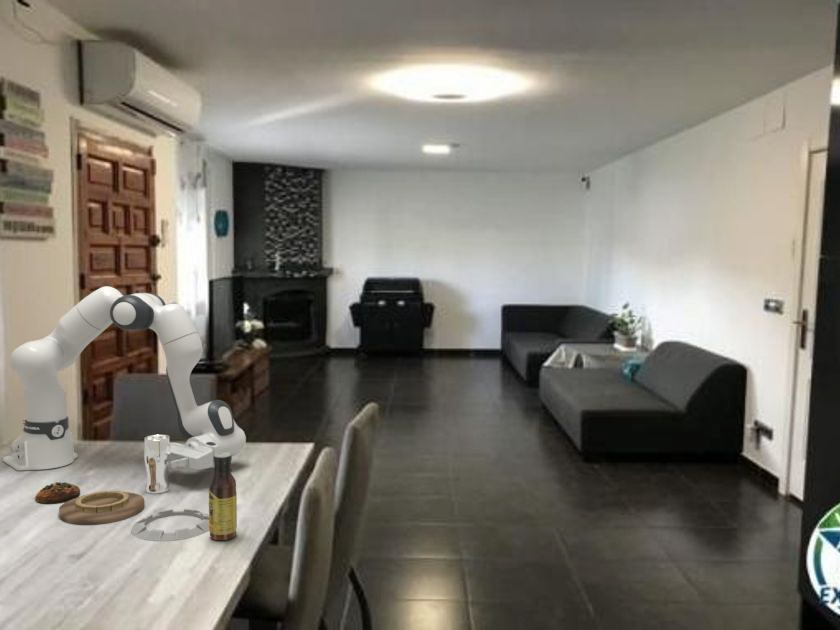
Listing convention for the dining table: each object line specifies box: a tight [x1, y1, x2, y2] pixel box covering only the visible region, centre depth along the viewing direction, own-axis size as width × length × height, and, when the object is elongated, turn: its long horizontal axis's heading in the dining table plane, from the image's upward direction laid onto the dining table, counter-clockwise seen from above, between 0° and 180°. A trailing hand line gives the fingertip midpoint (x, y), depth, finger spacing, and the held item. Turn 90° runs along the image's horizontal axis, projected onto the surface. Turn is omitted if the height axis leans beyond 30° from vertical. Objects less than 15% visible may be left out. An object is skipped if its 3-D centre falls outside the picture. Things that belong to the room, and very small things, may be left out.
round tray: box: [58, 490, 146, 526], centre depth 182 cm, size 20×20×3 cm
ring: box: [130, 508, 210, 542], centre depth 173 cm, size 19×19×2 cm
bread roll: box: [34, 481, 81, 504], centre depth 192 cm, size 11×11×5 cm
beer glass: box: [143, 434, 171, 495], centre depth 198 cm, size 7×7×15 cm
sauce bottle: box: [208, 452, 238, 541], centre depth 166 cm, size 6×6×20 cm
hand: (159, 461), depth 199 cm, fingers open, 8 cm apart
